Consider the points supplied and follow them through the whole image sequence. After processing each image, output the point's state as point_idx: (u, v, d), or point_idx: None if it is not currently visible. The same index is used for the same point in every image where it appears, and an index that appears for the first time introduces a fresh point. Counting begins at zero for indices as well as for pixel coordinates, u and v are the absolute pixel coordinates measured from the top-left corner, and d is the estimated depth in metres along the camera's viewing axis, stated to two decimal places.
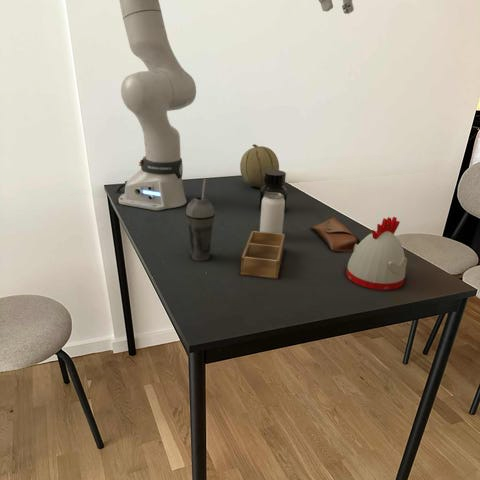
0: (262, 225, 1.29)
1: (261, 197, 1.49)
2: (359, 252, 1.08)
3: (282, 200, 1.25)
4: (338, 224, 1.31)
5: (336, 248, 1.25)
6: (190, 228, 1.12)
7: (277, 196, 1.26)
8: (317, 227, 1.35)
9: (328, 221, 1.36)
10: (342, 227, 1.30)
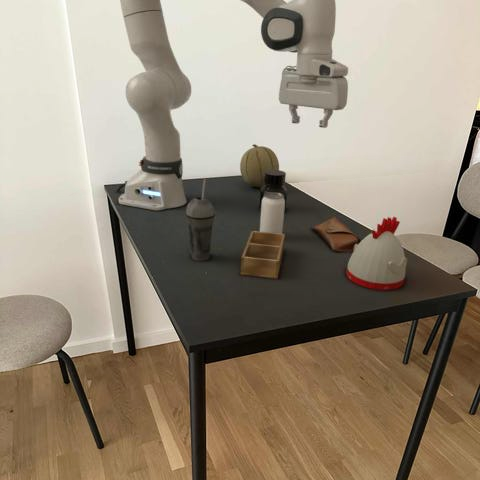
0: (262, 225, 1.29)
1: (261, 197, 1.49)
2: (359, 252, 1.08)
3: (282, 200, 1.25)
4: (339, 224, 1.31)
5: (337, 248, 1.25)
6: (190, 228, 1.12)
7: (277, 196, 1.26)
8: (318, 227, 1.35)
9: (328, 221, 1.36)
10: (343, 227, 1.30)
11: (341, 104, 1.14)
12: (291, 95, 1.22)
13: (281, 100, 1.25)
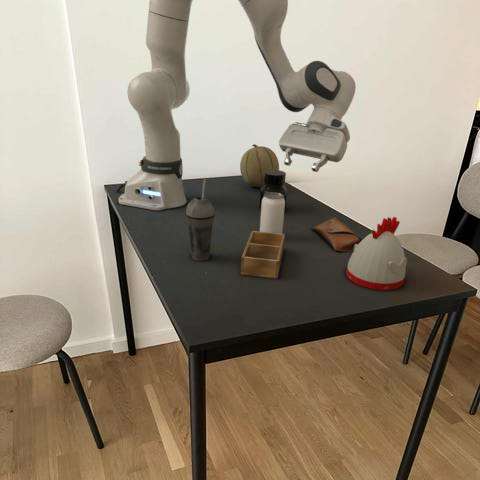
0: (262, 225, 1.29)
1: (261, 197, 1.49)
2: (359, 252, 1.08)
3: (282, 200, 1.25)
4: (340, 224, 1.32)
5: (339, 248, 1.25)
6: (190, 228, 1.12)
7: (277, 196, 1.26)
8: (318, 227, 1.35)
9: (329, 221, 1.36)
10: (344, 227, 1.30)
11: (340, 154, 1.26)
12: (293, 139, 1.33)
13: (282, 142, 1.34)
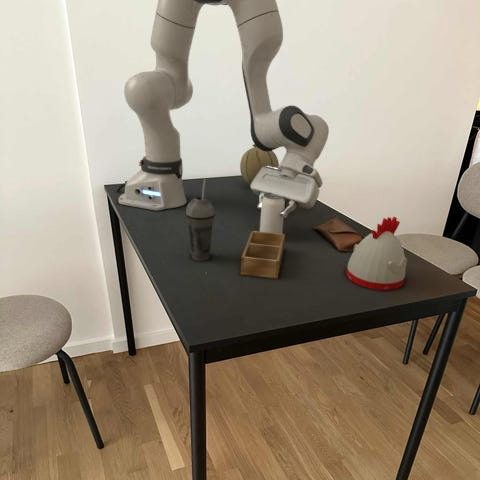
0: (262, 225, 1.29)
1: None
2: (359, 252, 1.08)
3: (282, 200, 1.25)
4: (342, 224, 1.32)
5: (343, 248, 1.25)
6: (190, 228, 1.12)
7: (277, 196, 1.26)
8: (320, 228, 1.35)
9: (330, 221, 1.36)
10: (347, 227, 1.30)
11: (311, 201, 1.23)
12: (265, 184, 1.30)
13: (253, 185, 1.31)
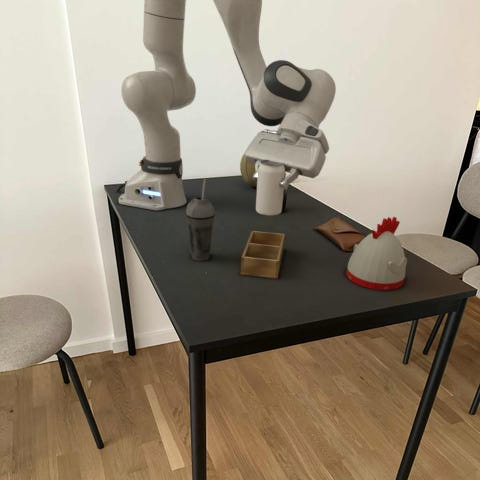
0: (259, 198, 1.10)
1: None
2: (359, 252, 1.08)
3: (282, 167, 1.06)
4: (344, 224, 1.32)
5: (347, 247, 1.25)
6: (190, 228, 1.12)
7: (276, 163, 1.07)
8: (322, 228, 1.35)
9: (331, 221, 1.36)
10: (349, 226, 1.30)
11: (316, 169, 1.04)
12: (262, 150, 1.11)
13: (248, 152, 1.12)
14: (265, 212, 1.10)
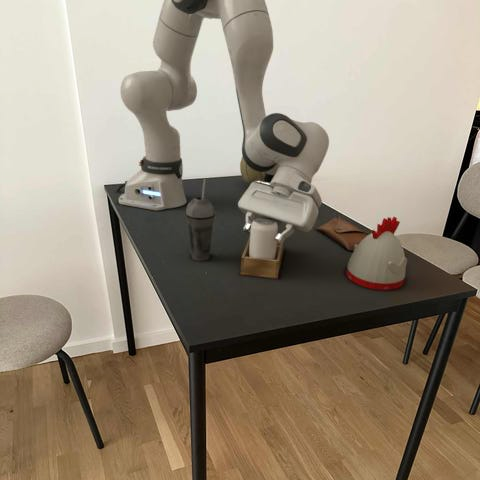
0: (251, 253, 1.10)
1: None
2: (359, 252, 1.08)
3: (274, 225, 1.06)
4: (346, 223, 1.32)
5: (352, 247, 1.25)
6: (190, 228, 1.12)
7: (269, 220, 1.08)
8: (324, 228, 1.35)
9: (333, 221, 1.37)
10: (352, 226, 1.31)
11: (308, 224, 1.04)
12: (255, 202, 1.11)
13: (241, 204, 1.12)
14: None
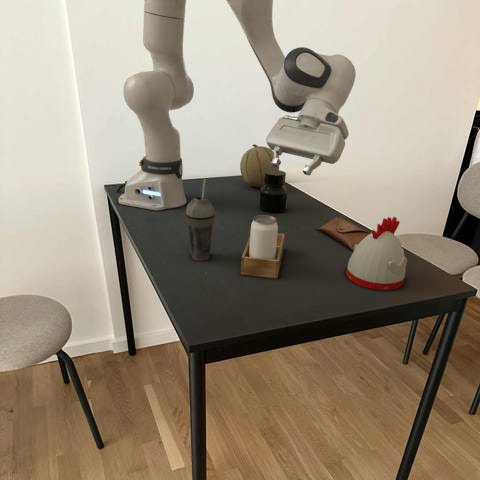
0: (251, 253, 1.10)
1: (261, 197, 1.49)
2: (359, 252, 1.08)
3: (274, 225, 1.06)
4: (348, 223, 1.33)
5: None
6: (190, 228, 1.12)
7: (269, 220, 1.08)
8: (326, 228, 1.35)
9: (334, 221, 1.37)
10: (354, 226, 1.31)
11: (335, 155, 1.07)
12: (282, 136, 1.14)
13: (269, 139, 1.16)
14: None
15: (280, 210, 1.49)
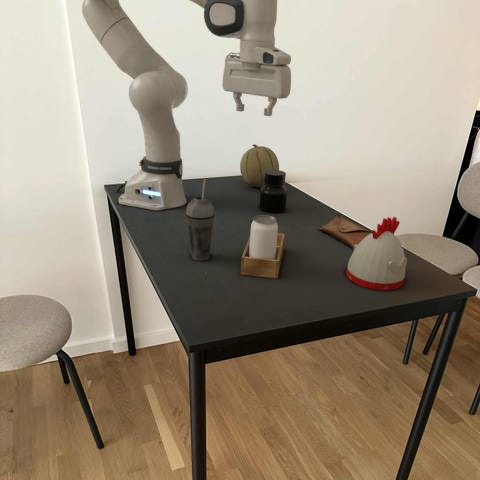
0: (251, 253, 1.10)
1: (261, 197, 1.49)
2: (359, 252, 1.08)
3: (274, 225, 1.06)
4: (350, 223, 1.33)
5: None
6: (190, 228, 1.12)
7: (269, 220, 1.08)
8: (327, 228, 1.35)
9: (335, 220, 1.37)
10: (356, 225, 1.31)
11: (285, 93, 1.15)
12: (235, 82, 1.22)
13: (225, 87, 1.24)
14: None
15: (280, 210, 1.49)
